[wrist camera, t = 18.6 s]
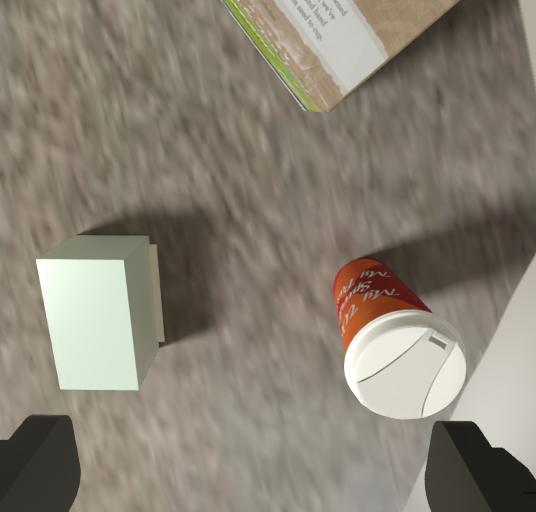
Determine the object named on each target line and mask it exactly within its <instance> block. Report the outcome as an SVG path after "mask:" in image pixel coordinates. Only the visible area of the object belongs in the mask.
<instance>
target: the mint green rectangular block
mask: <svg viewBox="0 0 536 512" xmlns="http://www.w3.org/2000/svg"><path fill="white" fill-rule="evenodd" d="M149 244H150V243H149V236H119V235H75V236H74V237H72V238H70V239H69V240H67V241H65V242H64V243H62V244H60V245H59V246H57V247H55V248H54V249H52V250H50V251H49V252H47V253H45V254H44V255H42V256H40V257H39V258H37V259H36V262H37V268H38V273H39V278H40V284H41V289H42V294H43V300H44V305H45V310H46V315H47V321H48V326H49V331H50V337H51V342H52V347H53V353H54V358H55V363H56V369H57V374H58V379H59V385H60V389H84V390H139V388H140V386H141V384H142V382H143V380H144V378H145V376H146V374H147V372H148V370H149V368H150V366H151V364H152V362H153V360H154V358H155V356H156V354H157V352H158V349H159V342H158V337H157V326H156V315H155V304H154V293H153V283H152V272H151V261H150V250H149Z"/></svg>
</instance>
